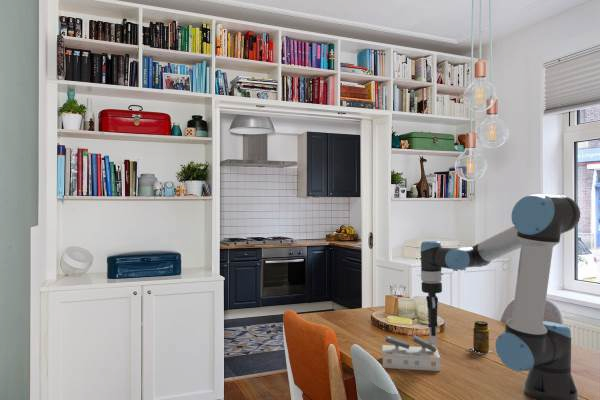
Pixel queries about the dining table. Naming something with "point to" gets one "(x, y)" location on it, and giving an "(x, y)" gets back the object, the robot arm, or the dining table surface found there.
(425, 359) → the switch unit
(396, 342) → the rocker
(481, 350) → the condiment
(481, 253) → the robot arm
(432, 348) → the rocker
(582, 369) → the dining table surface
